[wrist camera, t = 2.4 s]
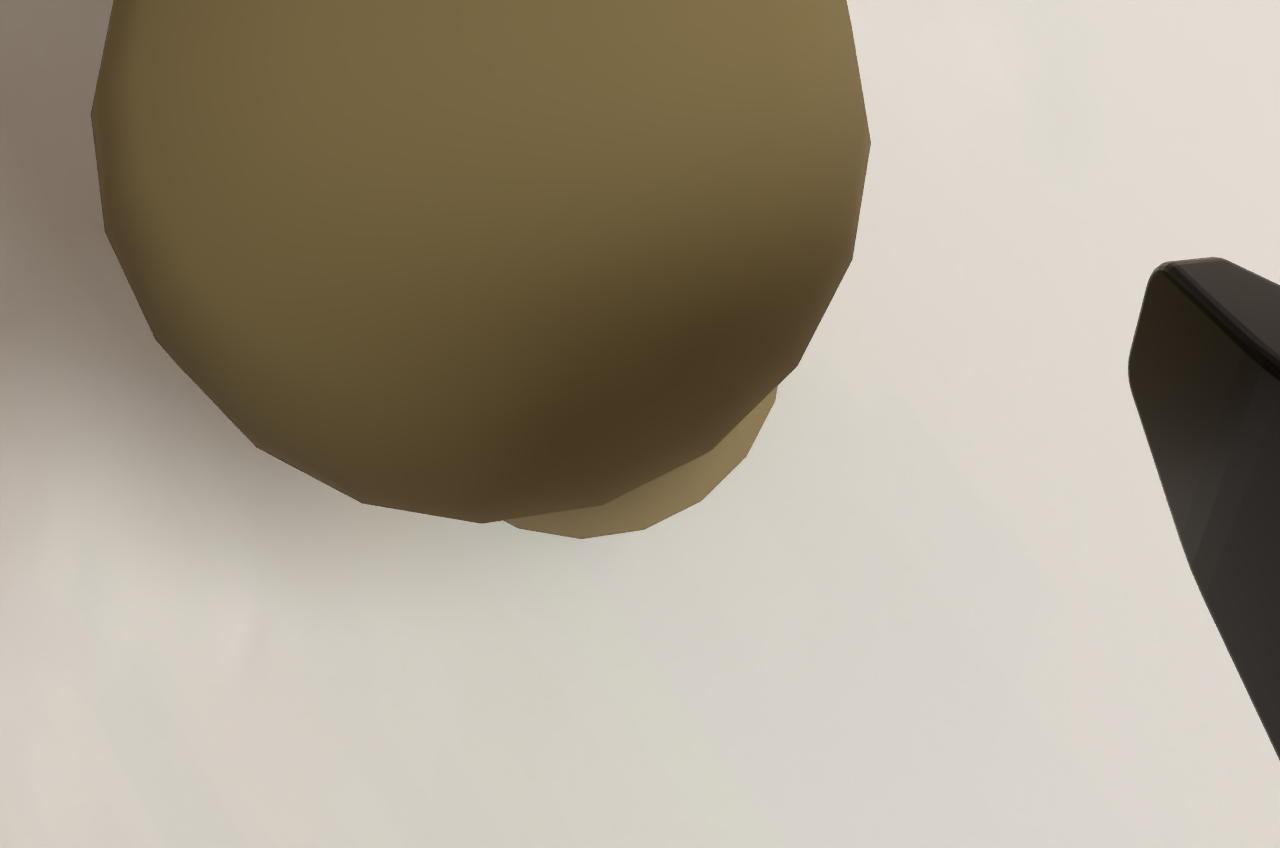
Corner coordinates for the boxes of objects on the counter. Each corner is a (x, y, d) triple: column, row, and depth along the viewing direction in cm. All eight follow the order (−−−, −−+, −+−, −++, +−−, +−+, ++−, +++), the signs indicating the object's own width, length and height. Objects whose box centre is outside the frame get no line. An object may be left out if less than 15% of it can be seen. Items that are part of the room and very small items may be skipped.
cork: (711, 593, 17) (796, 761, 6) (328, 464, 17) (-250, 402, 6) (837, 211, 17) (1133, -279, 6) (460, 89, 18) (128, -583, 7)
